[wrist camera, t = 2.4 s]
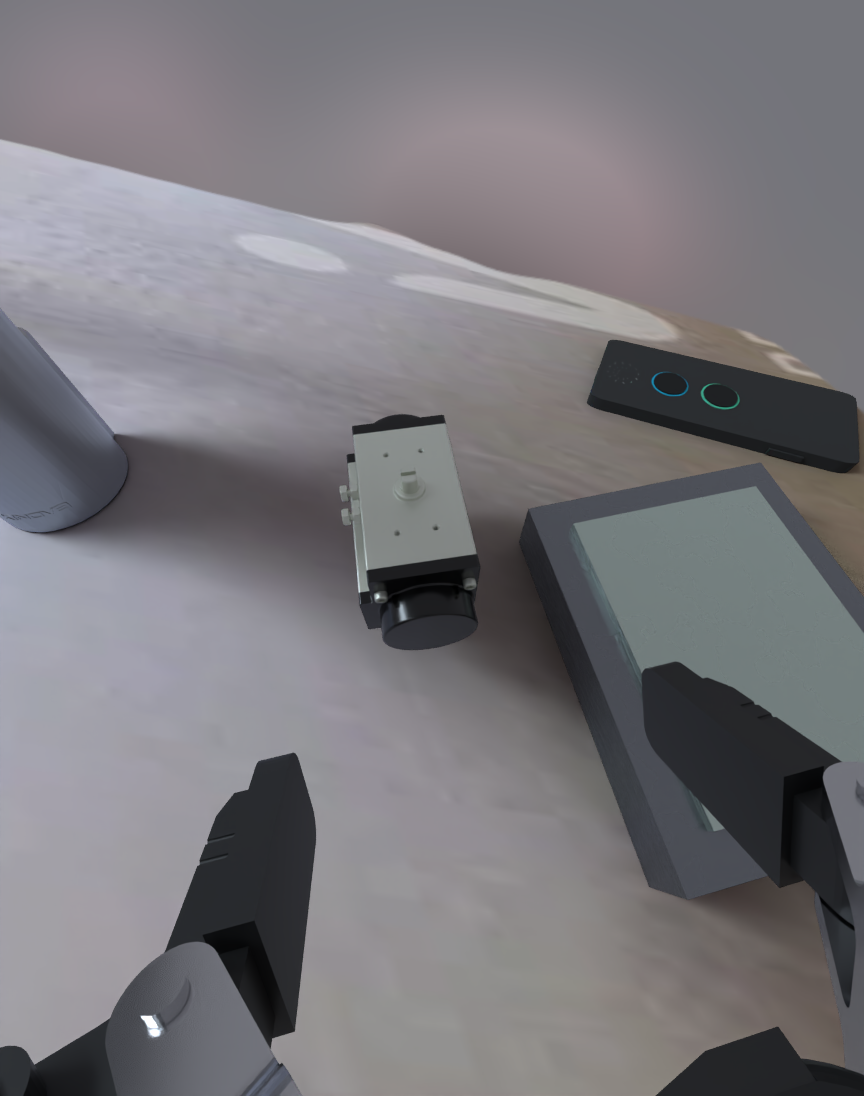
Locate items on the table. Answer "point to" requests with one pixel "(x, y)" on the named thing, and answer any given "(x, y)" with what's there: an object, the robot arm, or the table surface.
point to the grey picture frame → (697, 639)
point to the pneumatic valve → (411, 533)
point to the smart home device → (729, 405)
